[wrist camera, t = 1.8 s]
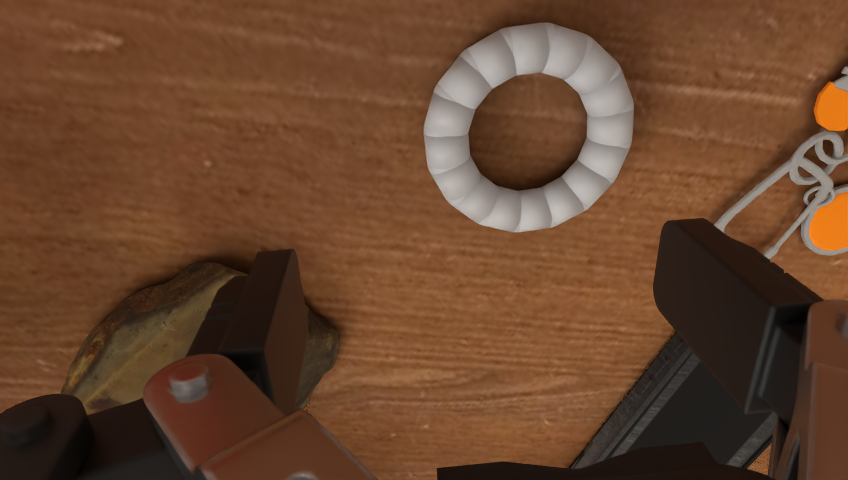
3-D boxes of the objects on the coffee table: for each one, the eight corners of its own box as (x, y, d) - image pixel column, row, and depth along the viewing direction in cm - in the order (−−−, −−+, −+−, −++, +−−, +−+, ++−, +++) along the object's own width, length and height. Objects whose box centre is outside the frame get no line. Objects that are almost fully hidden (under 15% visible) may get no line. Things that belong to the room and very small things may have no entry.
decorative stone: (185, 211, 22) (152, 253, 19) (371, 337, 25) (370, 391, 22) (54, 379, 25) (6, 439, 22) (236, 472, 28) (217, 537, 25)
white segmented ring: (518, -28, 19) (529, -27, 18) (663, 110, 21) (684, 121, 20) (382, 147, 21) (382, 161, 20) (527, 253, 24) (537, 272, 22)
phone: (843, 366, 26) (656, 563, 32) (826, 351, 27) (648, 545, 33) (713, 312, 24) (538, 532, 30) (699, 298, 25) (532, 514, 31)
